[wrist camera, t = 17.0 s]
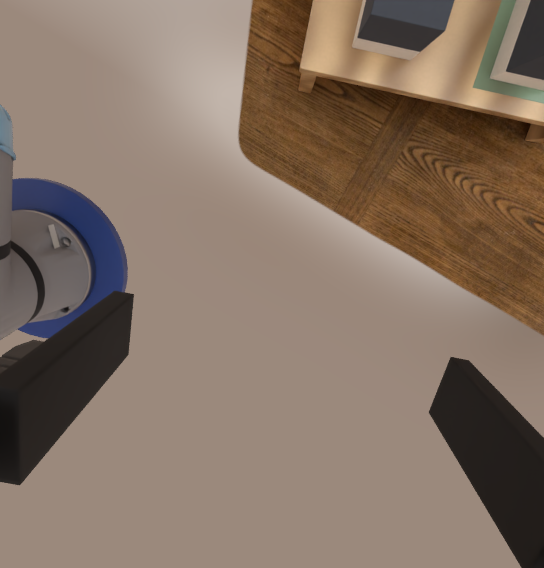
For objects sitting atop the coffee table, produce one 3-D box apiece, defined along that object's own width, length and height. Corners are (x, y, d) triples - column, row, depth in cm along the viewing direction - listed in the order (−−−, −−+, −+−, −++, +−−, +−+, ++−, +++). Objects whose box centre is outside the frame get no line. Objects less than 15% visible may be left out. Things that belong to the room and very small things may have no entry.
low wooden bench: (295, 90, 43) (299, 68, 33) (333, -100, 38) (351, -192, 28) (538, 143, 44) (609, 136, 34) (609, -35, 39) (717, -102, 29)
